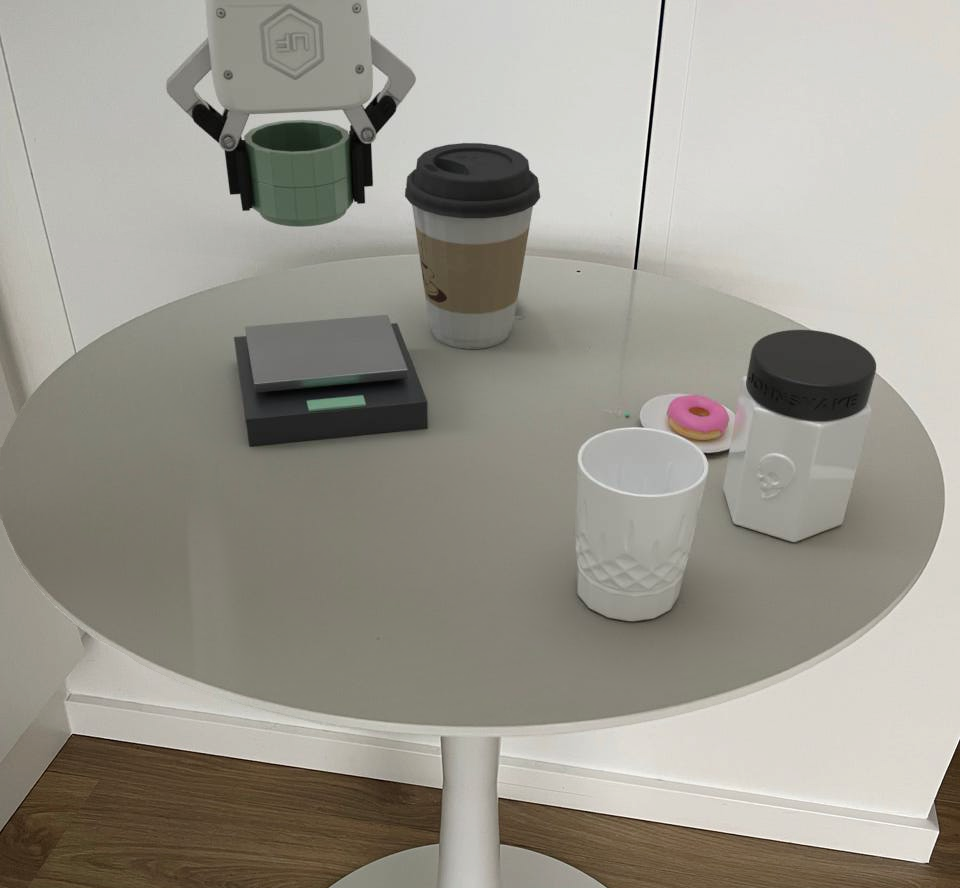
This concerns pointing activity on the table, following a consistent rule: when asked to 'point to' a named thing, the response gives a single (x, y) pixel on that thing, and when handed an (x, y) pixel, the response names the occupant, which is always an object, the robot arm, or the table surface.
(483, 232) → the coffee cup
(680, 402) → the donut
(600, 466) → the white cup
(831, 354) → the jar
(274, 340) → the scale platform
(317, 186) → the bowl
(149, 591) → the table surface
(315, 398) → the scale
